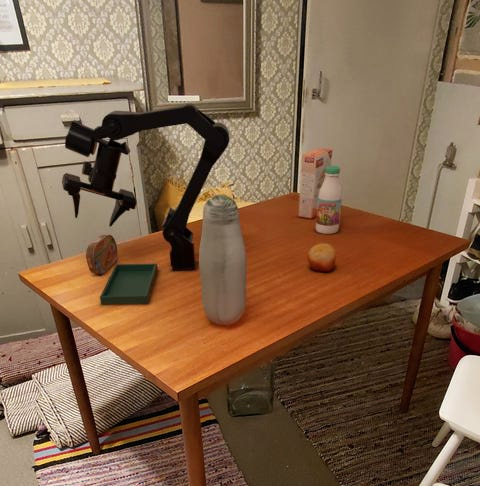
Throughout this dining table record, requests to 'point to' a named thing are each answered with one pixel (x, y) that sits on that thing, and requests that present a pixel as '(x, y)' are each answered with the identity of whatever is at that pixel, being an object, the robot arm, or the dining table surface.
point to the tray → (129, 284)
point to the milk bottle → (329, 202)
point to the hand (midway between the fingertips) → (93, 221)
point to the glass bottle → (222, 261)
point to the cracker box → (312, 180)
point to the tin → (101, 254)
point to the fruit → (322, 257)
